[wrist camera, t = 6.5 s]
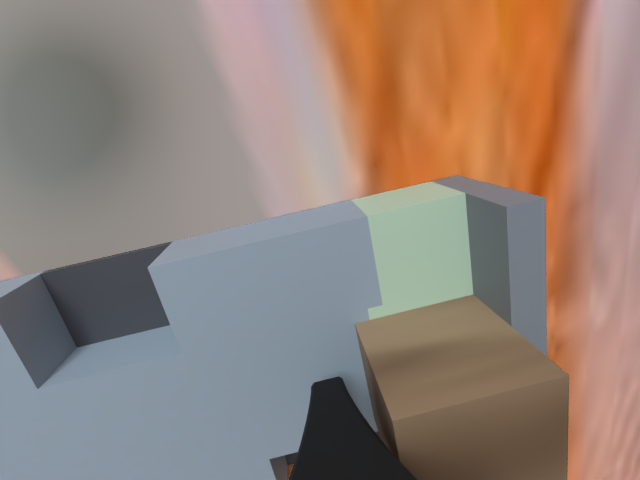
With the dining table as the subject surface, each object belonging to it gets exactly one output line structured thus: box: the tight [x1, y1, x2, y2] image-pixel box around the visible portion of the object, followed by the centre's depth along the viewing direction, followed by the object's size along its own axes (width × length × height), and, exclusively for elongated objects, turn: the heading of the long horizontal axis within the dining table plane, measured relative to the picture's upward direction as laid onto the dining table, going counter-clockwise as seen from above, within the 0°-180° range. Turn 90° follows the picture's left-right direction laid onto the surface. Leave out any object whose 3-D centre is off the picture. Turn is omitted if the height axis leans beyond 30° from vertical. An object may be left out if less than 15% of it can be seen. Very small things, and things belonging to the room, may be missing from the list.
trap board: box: [0, 175, 547, 480], centre depth 12 cm, size 24×11×4 cm, turn 102°
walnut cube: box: [355, 294, 569, 480], centre depth 10 cm, size 4×4×4 cm
